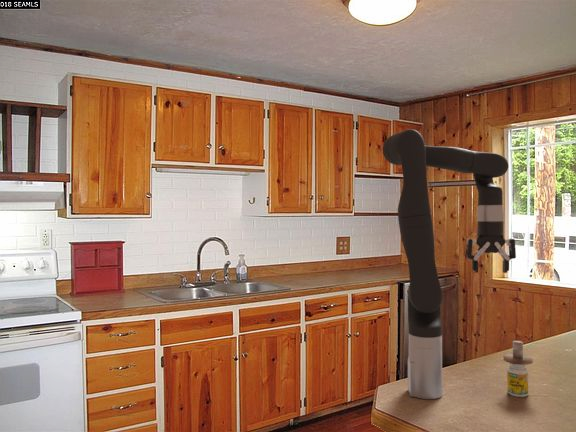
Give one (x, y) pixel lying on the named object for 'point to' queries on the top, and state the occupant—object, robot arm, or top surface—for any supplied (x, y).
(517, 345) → the lid
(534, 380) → the top surface
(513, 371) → the supplement bottle
